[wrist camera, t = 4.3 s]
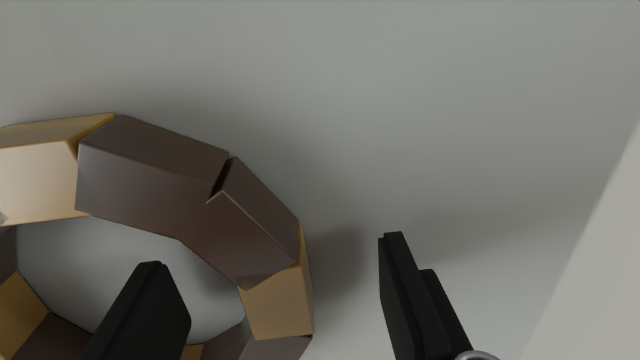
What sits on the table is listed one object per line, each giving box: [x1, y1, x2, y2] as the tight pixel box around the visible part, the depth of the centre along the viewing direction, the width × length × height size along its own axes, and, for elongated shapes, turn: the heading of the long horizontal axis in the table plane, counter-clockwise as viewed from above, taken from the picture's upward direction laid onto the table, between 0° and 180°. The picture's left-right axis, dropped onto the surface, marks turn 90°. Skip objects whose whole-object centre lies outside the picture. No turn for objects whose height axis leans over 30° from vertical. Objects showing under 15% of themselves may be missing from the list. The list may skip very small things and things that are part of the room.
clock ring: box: [0, 113, 314, 360], centre depth 11 cm, size 12×12×2 cm
